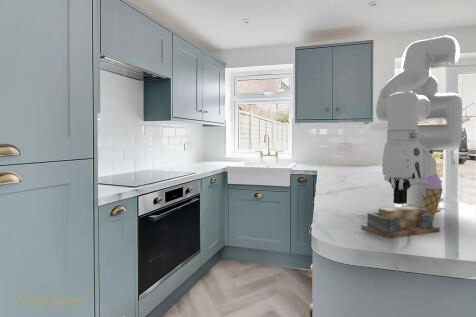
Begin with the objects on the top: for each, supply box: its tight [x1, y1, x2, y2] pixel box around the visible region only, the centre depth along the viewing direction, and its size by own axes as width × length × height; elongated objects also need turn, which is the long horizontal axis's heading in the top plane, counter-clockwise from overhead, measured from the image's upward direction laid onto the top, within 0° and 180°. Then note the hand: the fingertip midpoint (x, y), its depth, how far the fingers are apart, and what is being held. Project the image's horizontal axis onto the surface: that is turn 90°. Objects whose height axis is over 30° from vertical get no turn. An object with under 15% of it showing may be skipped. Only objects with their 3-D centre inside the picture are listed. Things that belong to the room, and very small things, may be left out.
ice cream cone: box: [419, 172, 443, 219], centre depth 98 cm, size 7×6×15 cm
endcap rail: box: [360, 211, 441, 239], centre depth 87 cm, size 18×10×4 cm, turn 110°
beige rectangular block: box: [378, 206, 422, 228], centre depth 87 cm, size 12×4×5 cm, turn 110°
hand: (400, 203), depth 86 cm, fingers closed
